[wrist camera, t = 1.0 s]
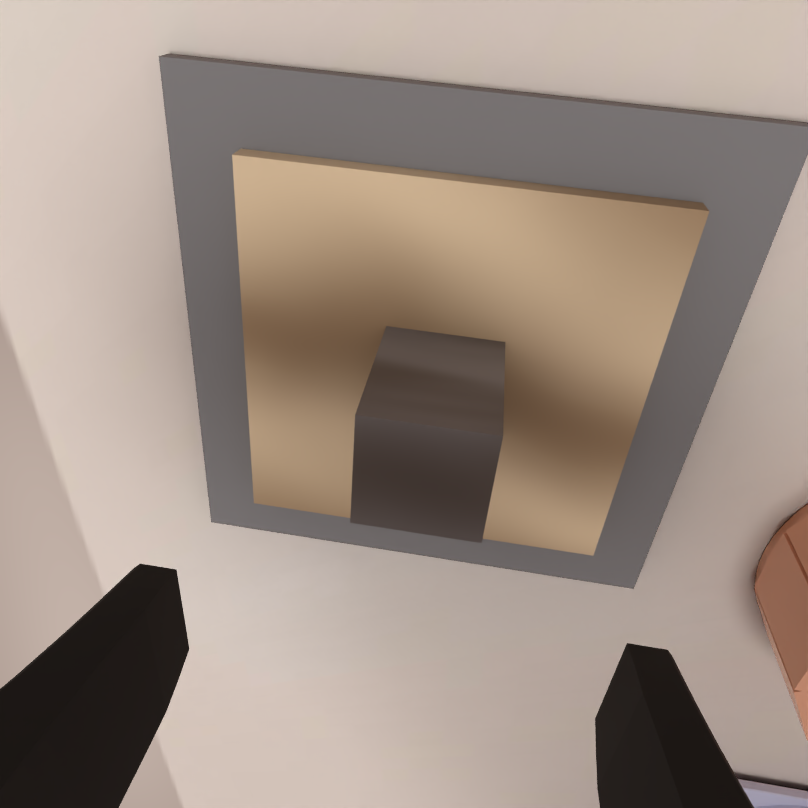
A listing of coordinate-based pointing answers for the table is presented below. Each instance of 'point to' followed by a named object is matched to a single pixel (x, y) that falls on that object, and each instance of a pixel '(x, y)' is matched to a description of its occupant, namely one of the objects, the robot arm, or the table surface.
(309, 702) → the table surface
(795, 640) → the bowl
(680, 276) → the lid
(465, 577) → the table surface
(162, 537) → the table surface
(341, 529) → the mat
